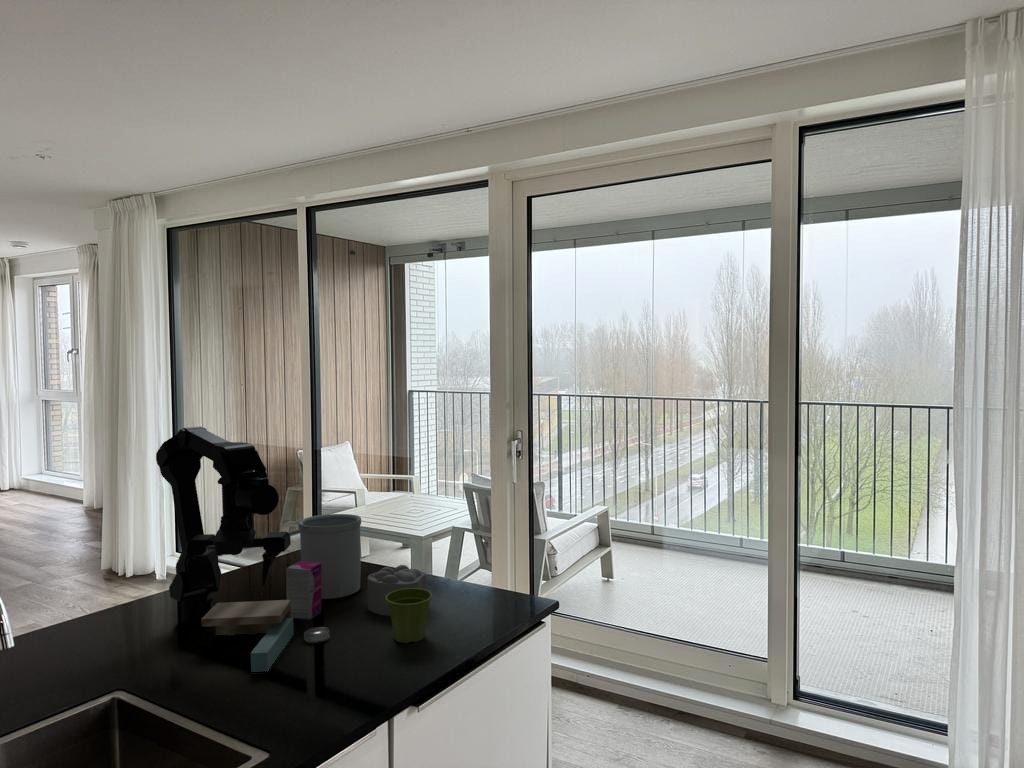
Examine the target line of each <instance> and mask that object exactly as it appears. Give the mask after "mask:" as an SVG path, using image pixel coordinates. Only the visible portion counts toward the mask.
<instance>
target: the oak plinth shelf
mask: <svg viewBox="0 0 1024 768" xmlns="http://www.w3.org/2000/svg"><path fill="white" fill-rule="evenodd" d="M283 618H291V600H286V599H279V600H277V599H276V600H275V599H274V600H255V601H253V600H252V601H232V602H231V601H229V602H216V603H215V606H214V607H213V608H212V609H211V610H210V611H209V612H208V613H207V614H206V615H205V616H204V617H203V618H202V619H201V624H202V627H201V628H205V627H215V636H216V635H228V636H236V635H235V634H249V635H258V634H257V633H267V632H268V631H269V629H270V628H271V627H272V625H273V624H274V623H281V621H282V620H283Z"/></svg>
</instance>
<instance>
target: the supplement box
mask: <svg viewBox="0 0 1024 768" xmlns="http://www.w3.org/2000/svg"><path fill="white" fill-rule="evenodd" d="M321 579H322V578H321V563H317V562H302V561H301V560H299V561H297V562H295V563H293V564H292V565H290V566H288V567H287V568H286V579H285V580H286V581H285V582H286V583H285V585H286V599H285V600H291V618H293V621H296V620H300V622H311V621H312V619H314V618H315V617H317V616H318V615H319V614H321V613H322V612H323V611H322V610H323V609H322V608H323V607H322V604H323V603H322V600H323V599H322V596H321Z"/></svg>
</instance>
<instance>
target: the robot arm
mask: <svg viewBox="0 0 1024 768" xmlns="http://www.w3.org/2000/svg"><path fill="white" fill-rule="evenodd" d="M177 431H178V432H176V434H175V435H173V436H171V437H170V438H169V439H167V440H165V441H164V442H163V443H162V444H161V445H160V447H159V448H158V450H157V451H156V455H155V461H156V463H157V466H158V467H159V472H160V475H161V477H162V478H163V479H165V481H166V482H167V483H168V484H169V485H170V487H171V492H172V499H173V503H174V504H173V505H174V511H175V517H176V523H177V529H178V531H177V532H178V537H179V544H180V548H181V549H180V550H181V552H180V555H179V557H178V560H177V562H176V564H175V575H174V578H173V579H172V581H171V583H170V585H169V587H168V590H169V596H170V598H171V599H173V600H175V601H177V602H176V604H177V623H176V624H175V625H174V629H187V628H188V629H190V628H203V627H202V624H201V619H202V618H203V617H204V616H205V615H206V614H207V613H208V612H209V611H210V610H211V609H212V608H213V607H214V606H215V604H216V603H215V602H216V600H215V598H213V593H216V592H217V593H218V592H219V589H220V584H221V576H222V571H221V567H220V564H219V557H221V556H224V555H226V556H227V555H231V556H238V555H240V554H242V552H243V549H245V548H247V549H248V548H263V550H264V552H263V554H261V557H262V559H263V560H262V575H261V576H262V577H261V581H262V586H263V587H265V586H266V585H267V583H268V579H269V576H270V573H271V570H272V568H273V564H274V562H275V560H276V558H277V557H278V556H279V555H280V554H281V553H283V552H285V551H287V549H288V548H289V547H290V546H291V544H292V543H291V534H290V533H289V532H288V531H270V532H269V533H267V535H266V536H263V537H260V536H259V537H255V536H256V534H257V531H256V529H255V516H256V515H260V516H267V515H269V514H271V513H272V512H274V510H275V509H276V508H277V506H278V505H279V504H278V503H279V500H280V496H279V492H278V491H277V489H276V488H275V487H274V486H273V485H271V484H269V478H268V473H267V468H266V466H265V464H264V463H263V461H262V459H261V457H260V455H259V452H258V450H257V449H256V447H255V445H253V444H252V443H250V442H249V443H248V442H241V441H240V442H239V441H237V442H236V441H233V442H232V441H228V440H227V439H225V438H223V437H221V436H218V435H216V434H215V433H213V432H210V431H209V430H207V428H205V427H203V426H192V427H191V426H190V427H183V428H181V429H179V430H177ZM203 457H205V458H207V459H208V460H211V462H212V468H213V469H214V470H215V471H216V472H217V473H218V474H219V476H220V478H218V480H217V484H218V485H221V498H222V499H221V502H222V503H221V504H222V505H221V506H222V516H220V526H219V528H218V530H217V531H216V533H215V534H206V533H205V532H204V527H203V525H204V524H203V521H202V515H201V508H200V503H199V497H198V491H197V484H196V479H197V477H198V475H199V472H200V470H201V468H202V467H201V466H202V465H201V459H203Z"/></svg>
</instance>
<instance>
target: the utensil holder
mask: <svg viewBox="0 0 1024 768" xmlns="http://www.w3.org/2000/svg"><path fill="white" fill-rule="evenodd" d="M361 525H362V517H361V516H359V515H356V514H349V513H339V514H338V513H331V514H330V513H329V514H320V515H318V514H317V515H313V516H308V517H305V518H303V519H300V521H299V522H298V530H299V538H300V561H302V562H317V563H321V578H322V579H321V596H322V600H330V599H340V598H344V597H348V596H350V595H353V594H355V593H357V592H358V591H360V588H361V567H362V566H361Z"/></svg>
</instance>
